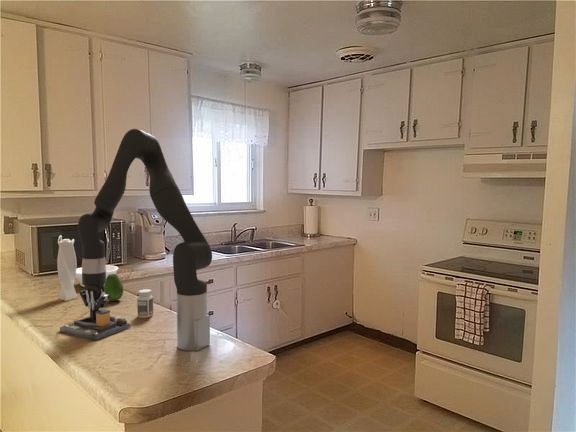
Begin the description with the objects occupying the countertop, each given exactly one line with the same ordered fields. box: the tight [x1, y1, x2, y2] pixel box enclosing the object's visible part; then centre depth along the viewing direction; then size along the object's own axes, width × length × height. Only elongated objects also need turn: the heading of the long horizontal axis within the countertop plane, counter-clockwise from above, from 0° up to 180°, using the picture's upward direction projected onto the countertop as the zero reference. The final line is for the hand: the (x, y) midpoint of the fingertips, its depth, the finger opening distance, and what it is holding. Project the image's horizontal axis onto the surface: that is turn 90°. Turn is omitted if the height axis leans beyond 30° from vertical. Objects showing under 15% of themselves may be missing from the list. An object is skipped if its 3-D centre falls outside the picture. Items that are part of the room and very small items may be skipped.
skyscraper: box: [56, 234, 78, 302], centre depth 177 cm, size 8×8×28 cm
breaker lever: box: [96, 308, 111, 327], centre depth 139 cm, size 3×3×6 cm
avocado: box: [104, 273, 124, 302], centre depth 175 cm, size 8×8×12 cm
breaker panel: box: [59, 315, 131, 342], centre depth 141 cm, size 18×14×3 cm
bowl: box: [75, 264, 119, 288], centre depth 202 cm, size 21×21×8 cm
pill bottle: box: [136, 288, 154, 319], centre depth 155 cm, size 6×6×10 cm
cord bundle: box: [110, 314, 128, 325], centre depth 145 cm, size 16×3×2 cm, turn 63°
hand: (94, 319), depth 140 cm, fingers closed
